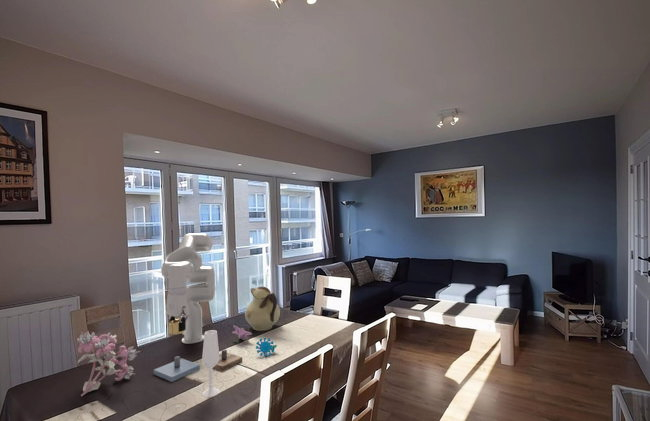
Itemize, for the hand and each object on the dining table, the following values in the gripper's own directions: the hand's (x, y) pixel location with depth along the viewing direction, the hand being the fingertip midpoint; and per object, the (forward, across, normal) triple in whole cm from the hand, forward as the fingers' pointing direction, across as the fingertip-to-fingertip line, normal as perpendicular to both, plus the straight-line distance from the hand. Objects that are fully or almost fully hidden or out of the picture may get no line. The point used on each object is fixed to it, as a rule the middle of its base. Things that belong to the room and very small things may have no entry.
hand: (177, 329), depth 148 cm
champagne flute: (+20, +29, -4) cm, 35 cm away
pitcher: (+19, -8, +66) cm, 69 cm away
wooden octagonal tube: (+1, 0, 0) cm, 1 cm away
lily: (+19, -3, +42) cm, 46 cm away
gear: (+20, +22, +36) cm, 46 cm away
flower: (+20, -15, -21) cm, 32 cm away
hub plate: (+19, 0, 0) cm, 19 cm away
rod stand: (+19, +12, +17) cm, 28 cm away
